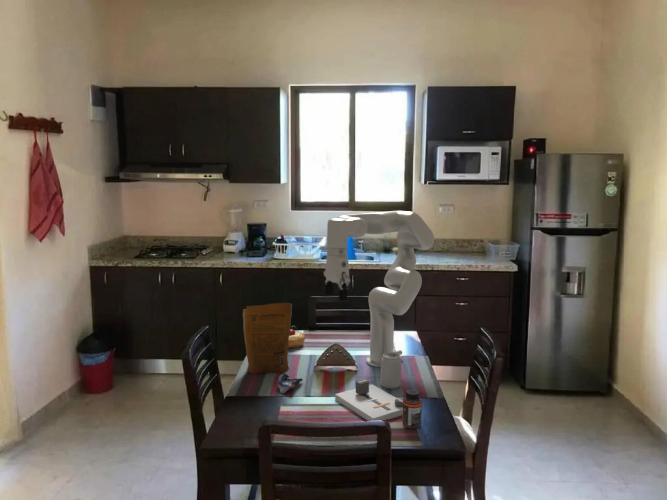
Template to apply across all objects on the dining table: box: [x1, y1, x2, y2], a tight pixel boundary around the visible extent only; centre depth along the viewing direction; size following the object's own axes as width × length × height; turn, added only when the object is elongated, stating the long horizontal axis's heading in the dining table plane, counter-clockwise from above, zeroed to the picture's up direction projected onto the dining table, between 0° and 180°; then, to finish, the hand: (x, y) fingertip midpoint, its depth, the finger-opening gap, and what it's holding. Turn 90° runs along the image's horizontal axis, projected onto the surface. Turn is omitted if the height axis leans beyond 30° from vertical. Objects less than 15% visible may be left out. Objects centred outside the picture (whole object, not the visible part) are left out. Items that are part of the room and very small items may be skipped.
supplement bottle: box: [402, 388, 423, 429], centre depth 178 cm, size 6×6×11 cm
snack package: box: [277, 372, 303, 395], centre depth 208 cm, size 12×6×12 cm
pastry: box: [288, 325, 306, 350], centre depth 253 cm, size 12×12×9 cm
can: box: [380, 353, 402, 390], centre depth 208 cm, size 8×8×12 cm
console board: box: [334, 384, 403, 422], centre depth 192 cm, size 16×22×4 cm
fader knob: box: [355, 379, 370, 395], centre depth 197 cm, size 4×2×4 cm, turn 123°
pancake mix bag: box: [242, 302, 293, 375], centre depth 220 cm, size 7×19×28 cm, turn 98°
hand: (335, 297), depth 211 cm, fingers open, 9 cm apart
